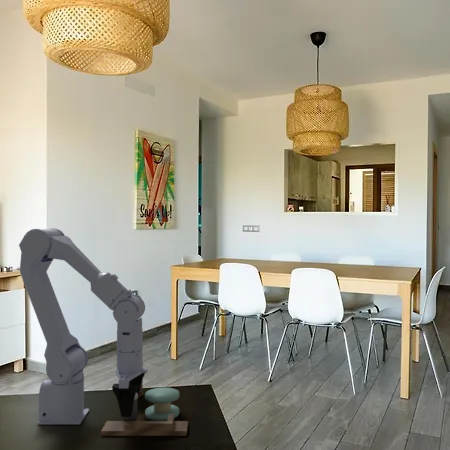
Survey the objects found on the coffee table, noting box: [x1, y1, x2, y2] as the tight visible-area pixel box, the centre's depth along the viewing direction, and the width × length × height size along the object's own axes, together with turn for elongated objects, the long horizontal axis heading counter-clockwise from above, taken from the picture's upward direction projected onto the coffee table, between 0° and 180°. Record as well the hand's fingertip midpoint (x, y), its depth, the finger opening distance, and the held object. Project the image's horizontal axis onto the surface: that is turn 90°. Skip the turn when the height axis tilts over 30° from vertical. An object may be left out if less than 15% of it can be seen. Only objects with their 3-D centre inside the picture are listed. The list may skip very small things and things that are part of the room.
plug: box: [120, 393, 139, 421], centre depth 107 cm, size 4×4×6 cm
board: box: [100, 413, 189, 437], centre depth 102 cm, size 18×5×2 cm, turn 91°
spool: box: [144, 387, 180, 421], centre depth 111 cm, size 8×8×5 cm
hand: (129, 409), depth 107 cm, fingers open, 7 cm apart
